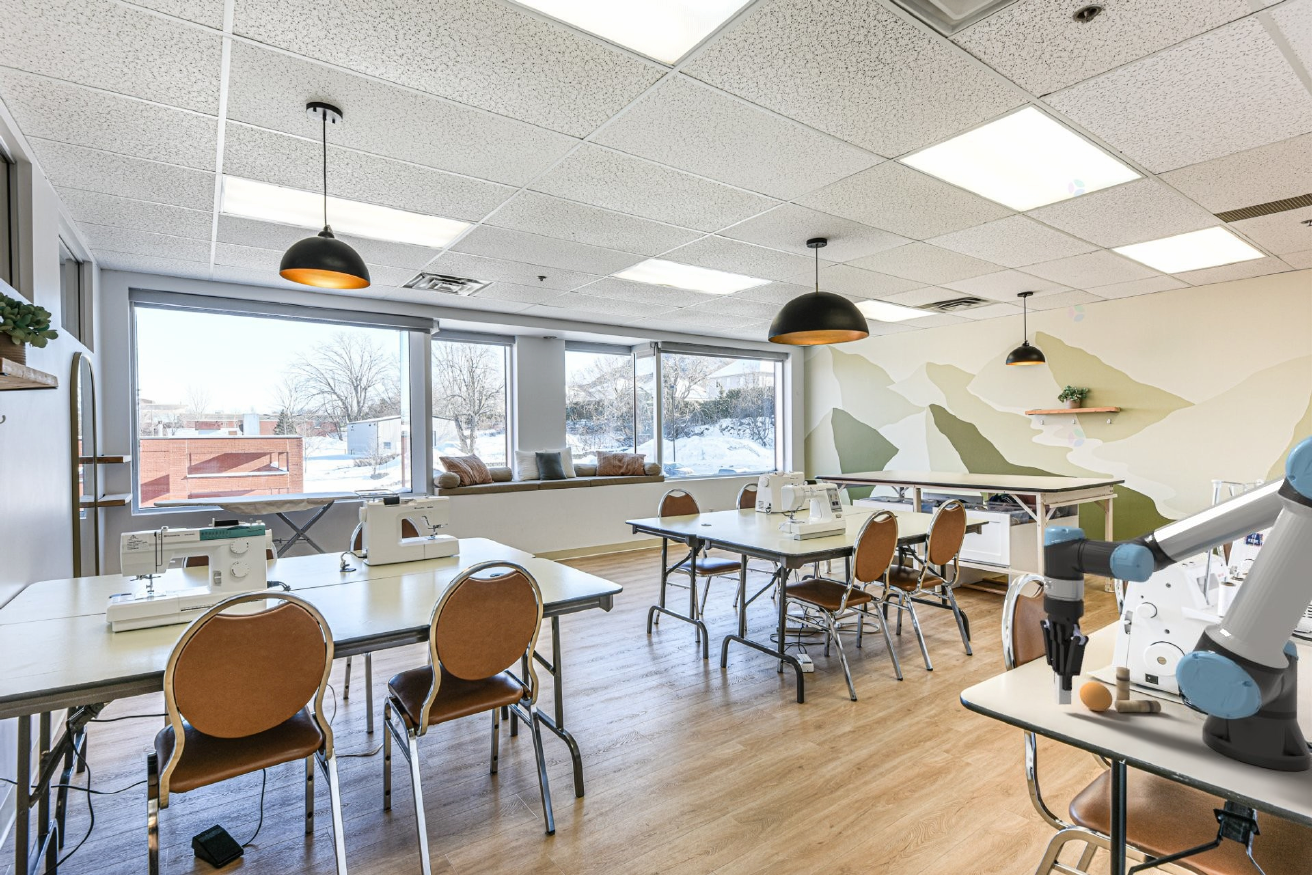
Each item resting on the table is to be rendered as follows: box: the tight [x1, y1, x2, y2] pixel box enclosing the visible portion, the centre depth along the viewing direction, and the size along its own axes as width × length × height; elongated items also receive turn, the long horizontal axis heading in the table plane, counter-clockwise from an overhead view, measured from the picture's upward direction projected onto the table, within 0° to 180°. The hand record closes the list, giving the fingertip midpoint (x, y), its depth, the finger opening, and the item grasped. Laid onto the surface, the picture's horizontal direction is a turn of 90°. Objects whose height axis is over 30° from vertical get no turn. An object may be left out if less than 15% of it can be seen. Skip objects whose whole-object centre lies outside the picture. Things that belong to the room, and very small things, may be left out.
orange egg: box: [1079, 681, 1113, 712], centre depth 139 cm, size 6×6×6 cm
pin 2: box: [1113, 699, 1162, 713], centre depth 138 cm, size 2×2×8 cm
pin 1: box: [1115, 666, 1131, 701], centre depth 141 cm, size 2×2×8 cm
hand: (1062, 702), depth 138 cm, fingers closed
